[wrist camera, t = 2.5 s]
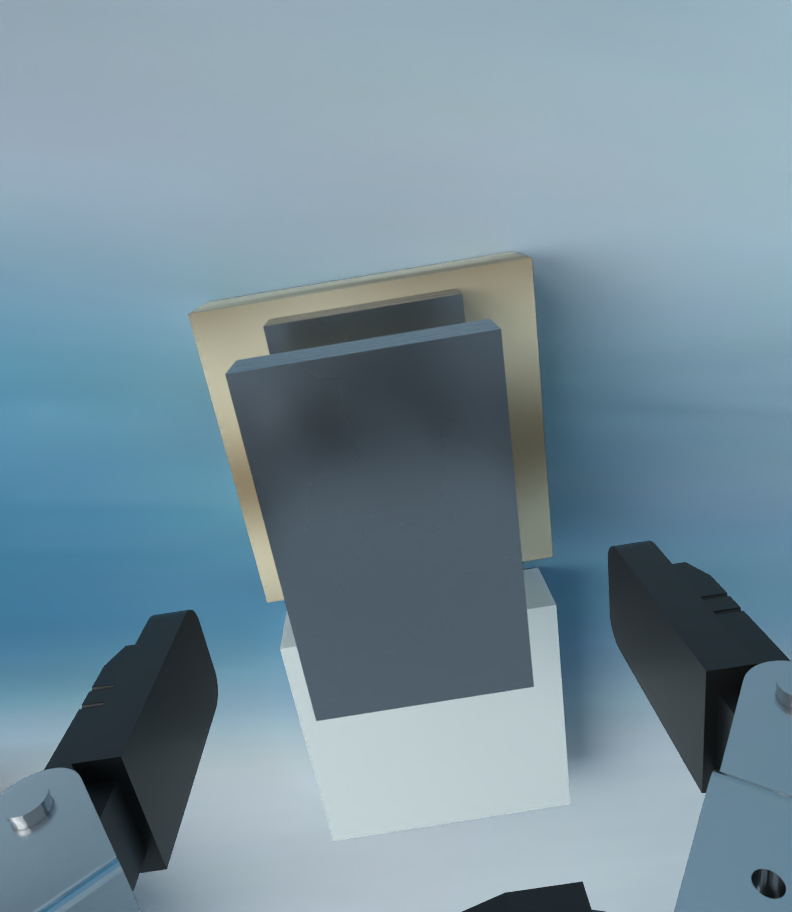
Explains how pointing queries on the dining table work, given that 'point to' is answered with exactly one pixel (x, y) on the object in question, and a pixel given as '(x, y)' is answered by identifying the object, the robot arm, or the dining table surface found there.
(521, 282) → the stand
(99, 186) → the dining table surface
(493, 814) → the stand
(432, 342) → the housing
